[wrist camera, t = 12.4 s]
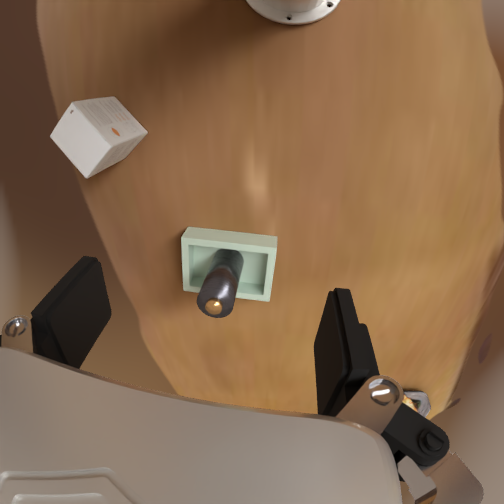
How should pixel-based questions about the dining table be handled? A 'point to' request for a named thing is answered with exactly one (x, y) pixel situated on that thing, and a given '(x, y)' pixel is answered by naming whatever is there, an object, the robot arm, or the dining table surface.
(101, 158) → the small box
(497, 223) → the dining table surface
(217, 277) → the cylinder
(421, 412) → the food plate
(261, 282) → the trough
